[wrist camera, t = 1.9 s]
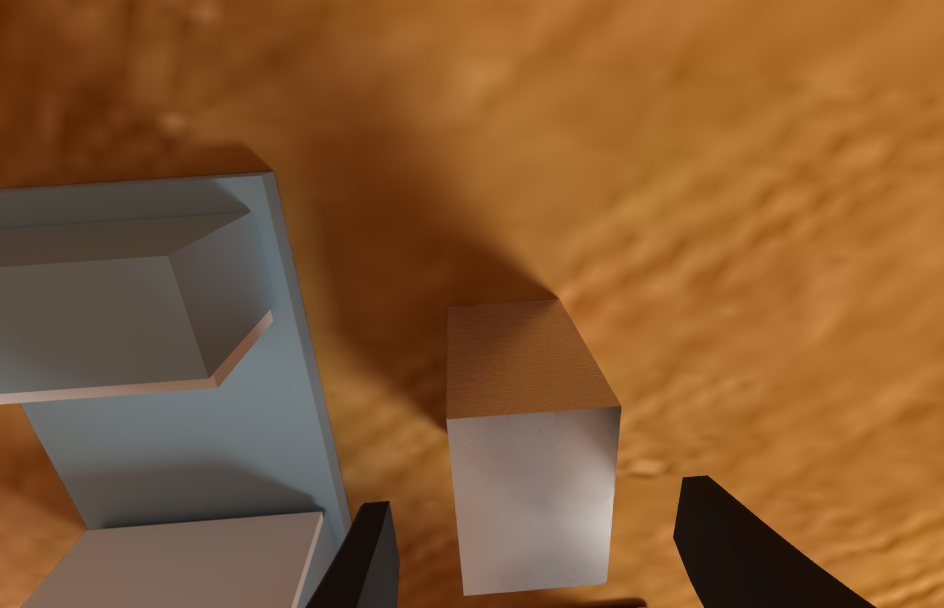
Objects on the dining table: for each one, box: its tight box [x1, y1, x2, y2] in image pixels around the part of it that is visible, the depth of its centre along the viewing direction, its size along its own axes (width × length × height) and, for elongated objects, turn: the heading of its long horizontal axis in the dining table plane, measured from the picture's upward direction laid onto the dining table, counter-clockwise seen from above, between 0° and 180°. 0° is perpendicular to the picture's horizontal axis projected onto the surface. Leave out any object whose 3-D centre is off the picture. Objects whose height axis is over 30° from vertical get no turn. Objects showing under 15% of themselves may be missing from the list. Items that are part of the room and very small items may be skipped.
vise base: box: [0, 171, 352, 553], centre depth 16 cm, size 20×10×6 cm, turn 3°
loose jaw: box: [21, 511, 337, 608], centre depth 17 cm, size 3×9×4 cm, turn 93°
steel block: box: [446, 298, 621, 596], centre depth 15 cm, size 6×4×6 cm, turn 3°
